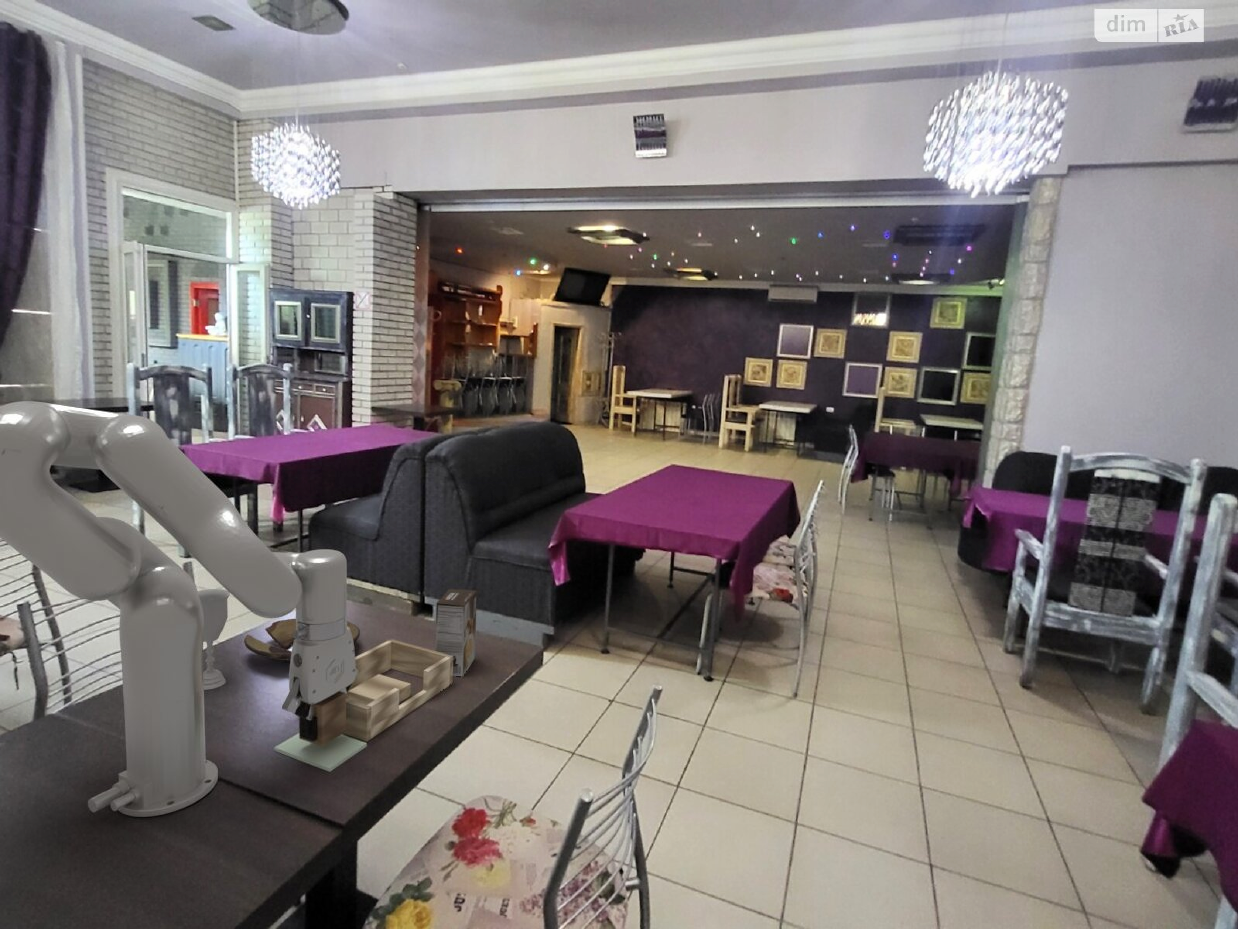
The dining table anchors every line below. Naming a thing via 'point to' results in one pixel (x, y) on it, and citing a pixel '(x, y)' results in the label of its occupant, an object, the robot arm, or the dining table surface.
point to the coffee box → (457, 628)
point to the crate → (392, 686)
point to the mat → (321, 751)
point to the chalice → (213, 630)
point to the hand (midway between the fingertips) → (322, 728)
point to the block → (329, 718)
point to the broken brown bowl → (283, 639)
